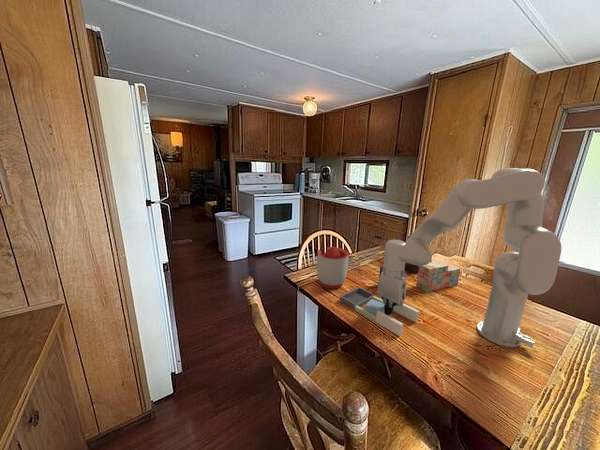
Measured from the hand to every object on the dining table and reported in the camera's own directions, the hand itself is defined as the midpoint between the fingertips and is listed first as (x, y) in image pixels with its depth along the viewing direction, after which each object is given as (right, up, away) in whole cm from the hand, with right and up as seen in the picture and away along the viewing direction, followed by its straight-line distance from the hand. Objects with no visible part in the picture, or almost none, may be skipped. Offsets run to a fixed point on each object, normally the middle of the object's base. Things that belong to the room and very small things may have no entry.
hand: (388, 313), depth 97 cm
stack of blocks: (+34, +5, +26) cm, 43 cm away
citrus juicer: (-20, +6, +27) cm, 34 cm away
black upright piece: (+30, +10, +47) cm, 57 cm away
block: (-5, -1, +3) cm, 5 cm away
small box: (+9, +4, +23) cm, 25 cm away
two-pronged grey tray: (-3, 0, +4) cm, 5 cm away
